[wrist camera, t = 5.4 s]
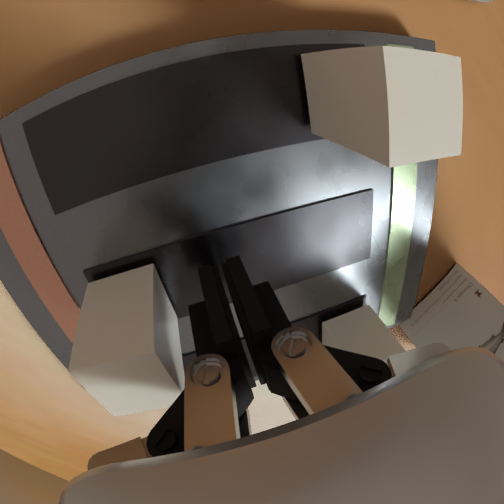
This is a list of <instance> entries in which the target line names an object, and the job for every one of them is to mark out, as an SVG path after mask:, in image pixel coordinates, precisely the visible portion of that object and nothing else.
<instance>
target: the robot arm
mask: <svg viewBox="0 0 504 504" xmlns="http://www.w3.org/2000/svg"><path fill="white" fill-rule="evenodd" d="M467 1H471V2H487V3H488V2H491V1H494V0H467ZM221 265H222V269H223V272H224V275H225V279H226V282H227V285H228V289H229V292H230V295H231V299H232V302H233V305H234V309H235V312H236V315H237V318H238V321H239V324H240V327H241V330H242V333H243V336H244V339H245V341H246V344H247V347H248V350H249V353H250V356H251V358H252V361H253V364H254V367H255V370H256V372H257V375H258V378H259V381H260V383H261V385H262V384H265V383H267V386H268V389H269V390H270V391H271V393H274V394H277V395H280V396H282V398H283V400H284V402H285V403H286V405H287V407H288V408H289V410H290V411H291V413H292V414H293V416H294V417H295V419H296V420H295V421H293V422H290V423H287V424H284V425H281V426H278V427H275V428H272V429H269V430H266V431H263V432H260V433H256V434H253V435H252V431H251V423H250V416H249V410H248V406H249V405H250V403H251V402H252V400H253V399H254V397H253V396H254V395H253V392H252V389H251V388H253V387H256V383H255V380H254V377H253V375H252V372H251V369H250V366H249V363H248V360H247V357H246V354H245V351H244V348H243V345H242V342H241V339H240V336H239V333H238V329H237V326H236V323H235V320H234V317H233V314H232V311H231V308H230V305H229V302H228V299H227V296H226V293H225V289H224V286H223V283H222V280H221V277H220V273H219V270H218V267H217V266H214V267H212V266H211V264H208V265H205V266H201V267H198V273H199V278H200V283H201V287H202V292H203V297H204V301H201V302H198V303H195V304H191V305H188V309H189V316H190V322H191V328H192V334H193V340H194V345H195V351H196V356H197V358H195V359H193V360H192V361H191V362H190V363H189V365H188V366H187V368H186V371H185V388H184V390H183V391H182V392H181V394H180V395H179V396H178V397H177V399H176V400H175V401H174V403H173V404H172V405H171V406H170V408H169V409H168V410H167V411H166V413H165V414H164V415H163V416H162V418H161V419H160V420H159V421H158V423H157V424H156V425H155V426H154V427H153V429H152V430H151V431H150V433H149V435H148V436H147V437H145V438H140V437H138V438H135V439H133V440H130V441H128V442H125V443H123V444H120V445H117V446H114V447H112V448H109V449H106V450H103V451H100V452H98V453H96V454H94V455H93V456H92V457H91V458H90V459H89V462H88V465H87V467H88V471H85V472H83V473H81V474H80V475H78V476H76V477H74V478H73V479H72V480H70V481H69V482H68V483H67V484H66V485H65V486H64V488H63V490H62V492H61V496H60V501H59V504H504V362H503V361H502V360H501V359H500V358H499V357H497V356H496V355H495V354H494V353H492V352H490V351H489V350H487V349H484V348H480V347H467V348H460V349H455V350H450V348H449V347H448V346H446V345H444V344H441V343H432V344H429V345H426V346H422V347H419V348H415V349H412V350H408V351H405V352H401V353H398V354H394V355H390V356H388V358H387V359H384V360H380V359H378V358H375V357H370V356H366V355H362V354H357V353H353V352H349V351H345V350H341V349H337V348H333V347H329V346H325V345H323V344H322V343H321V342H320V341H319V340H318V339H317V337H316V336H315V335H314V334H313V333H312V332H311V331H310V330H308V329H305V328H303V327H292V325H291V323H290V321H289V319H288V318H287V316H286V314H285V312H284V310H283V308H282V306H281V304H280V302H279V300H278V298H277V297H276V295H275V293H274V291H273V289H272V287H271V285H270V283H269V282H268V281H266V282H263V283H260V284H257V285H253V286H252V283H251V281H250V279H249V277H248V274H247V272H246V270H245V268H244V265H243V263H242V261H241V259H240V256H239V255H238V256H234V257H231V258H228V259H226V263H224V264H221Z"/></svg>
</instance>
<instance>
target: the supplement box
mask: <svg viewBox="0 0 504 504" xmlns="http://www.w3.org/2000/svg"><path fill="white" fill-rule="evenodd" d="M399 326H400V328H401V329H402V330H403V332H404V333H405V334H406V335H407V337H408V338H409V339H410V340H411V342H412V343H413V344H414V345H415V347H416V348H419V347H422V346H426V345H429V344H432V343H441V344H444V345H446V346H448V347H449V348H450V350H455V349H460V348H467V347H480V348H484V349H487V350H489V351H490V352H492V353H494V354H495V355H496V356H497V357H499V358H500V359H501V360H502V361H503V362H504V306H503V305H502V304H501V303H500V302H499V301H498V300H497V299H496V298H495V297H494V296H493V295H492V294H491V293H490V292H489V291H488V290H487V289H486V288H485V287H484V286H482V285H481V284H480V283H479V282H478V281H477V280H476V279H475V278H474V277H473V276H471V275H470V274H469V273H468V272H467V271H466V270H465V269H464V268H463V267H461V266H460V265H459V264H458V263H456V264H455V266H454V267H453V269H452V270H451V271H450V272H449V274H448V275H447V276H446V277H445V278H444V279H443V280H442V281H441V282H440V283H439V284H438V285H437V286H436V288H435V289H434V290H433V291H432V292H431V293H430V294H429V295H428V296H427V297H426V298H425V299H424V300H423V301H421V302H420V303H419V304H418V305H417V306H416V307H415V308H414V309H413V311H412V315H411V318H410V319H408V320H406V321H404V322H402V323H400V324H399Z"/></svg>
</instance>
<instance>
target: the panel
mask: <svg viewBox="0 0 504 504" xmlns="http://www.w3.org/2000/svg"><path fill="white" fill-rule="evenodd" d="M368 46H391V47H401V48H410V49H417V50H424V51H431V52H436V50H435V41H432V40H427V39H421V38H416V37H410V36H403V35H396V34H388V33H379V32H368V31H353V30H286V31H272V32H260V33H251V34H242V35H235V36H228V37H222V38H216V39H210V40H205V41H199V42H194V43H190V44H185V45H181V46H177V47H172V48H168V49H164V50H161V51H157V52H153V53H150V54H146V55H143V56H140V57H136V58H133V59H130V60H127V61H124V62H121V63H118V64H115V65H112V66H110V67H107V68H104V69H102V70H99V71H96V72H94V73H91V74H89V75H86V76H84V77H82V78H79V79H77V80H75V81H72V82H70V83H68V84H66V85H63V86H61V87H59V88H57V89H55V90H53V91H51V92H49V93H47V94H45V95H43V96H41V97H39V98H37V99H35V100H33V101H32V102H30V103H28V104H26V105H24V106H22V107H21V108H19V109H17V110H16V111H14V112H12V113H10V114H9V115H7V116H6V117H4V118H2V119H1V120H0V280H1V281H2V283H3V284H4V286H5V288H6V289H7V291H8V292H9V294H10V295H11V297H12V298H13V300H14V301H15V303H16V304H17V306H18V307H19V309H20V310H21V312H22V313H23V314H24V316H25V317H26V319H27V320H28V321H29V323H30V324H31V325H32V327H33V328H34V329H35V331H36V332H37V333H38V335H39V336H40V337H41V338H42V340H43V341H44V342H45V343H46V345H47V346H48V347H49V348H50V349H51V351H52V352H53V353H54V354H55V355H56V357H57V358H58V359H59V360H60V361H61V362H62V364H63V365H64V366H65V367H66V368H67V369H69V363H70V358H71V352H72V347H73V342H74V337H75V333H76V328H77V324H78V320H79V315H80V311H81V307H82V303H83V300H84V296H85V292H86V288H87V285H88V283H90V282H94V281H97V280H100V279H103V278H107V277H110V276H113V275H116V274H120V273H123V272H126V271H130V270H133V269H136V268H139V267H143V266H146V265H149V264H153V263H154V266H155V268H156V271H157V273H158V275H159V278H160V280H161V282H162V285H163V287H164V289H165V291H166V294H167V296H168V298H169V300H170V302H171V305H172V307H173V309H174V311H175V313H176V315H177V320H178V329H179V337H180V345H181V353H182V360H183V367H184V374H185V371H186V368H187V366H188V365H189V363H190V362H191V361H192V360H193V359H195V358H197V356H196V351H195V345H194V340H193V334H192V328H191V322H190V316H189V309H188V305H191V304H195V303H198V302H201V301H204V297H203V292H202V287H201V283H200V278H199V273H198V267H201V266H205V265H208V264H211V266H212V267H214V266H217V267H218V270H219V273H220V277H221V280H222V283H223V286H224V289H225V293H226V296H227V299H228V302H229V305H230V308H231V311H232V314H233V317H234V320H235V323H236V326H237V329H238V333H239V336H240V339H241V342H242V345H243V348H244V351H245V354H246V357H247V360H248V363H249V366H250V369H251V372H252V375H253V377H254V380H255V381H256V380H259V378H258V375H257V372H256V370H255V367H254V364H253V361H252V358H251V356H250V353H249V350H248V347H247V344H246V341H245V339H244V336H243V333H242V330H241V327H240V324H239V321H238V318H237V315H236V312H235V309H234V305H233V302H232V299H231V295H230V292H229V289H228V285H227V282H226V279H225V275H224V272H223V269H222V265H221V264H224V263H226V259H228V258H231V257H234V256H238V255H239V256H240V259H241V261H242V263H243V265H244V268H245V270H246V272H247V274H248V277H249V279H250V281H251V283H252V286H253V285H257V284H260V283H263V282H266V281H268V282H269V283H270V285H271V287H272V289H273V291H274V293H275V295H276V297H277V298H278V300H279V302H280V304H281V306H282V308H283V310H284V312H285V314H286V316H287V318H288V319H289V321H290V323H291V325H292V327H303V328H305V329H308V330H310V331H311V332H312V333H313V334H314V335H315V336H316V337H317V339H318V340H319V341H320V342H321V343H322V322H325V321H327V320H330V319H333V318H335V317H338V316H340V315H343V314H345V313H348V312H351V311H353V310H356V309H358V308H361V307H363V306H365V305H368V304H369V305H370V306H371V308H372V309H373V310H374V311H375V313H376V314H377V315H378V316H379V318H380V319H381V320H382V321H383V323H384V324H385V325H386V327H387V328H388V329H389V328H391V327H393V326H395V325H397V324H400V323H402V322H404V321H406V320H408V319H410V318H411V315H412V311H413V308H414V304H415V300H416V296H417V292H418V288H419V284H420V279H421V275H422V270H423V266H424V261H425V256H426V250H427V245H428V239H429V233H430V227H431V220H432V213H433V206H434V197H435V188H436V177H437V164H438V159H434V160H428V161H422V162H417V163H412V164H406V165H401V166H396V167H391V168H389V167H387V166H385V165H383V164H381V163H379V162H377V161H375V160H373V159H370V158H368V157H366V156H364V155H362V154H360V153H358V152H355V151H353V150H351V149H349V148H346V147H344V146H342V145H340V144H337V143H335V142H332V141H330V140H328V139H325V138H323V137H320V136H318V135H315V134H313V133H311V125H310V116H309V108H308V100H307V93H306V85H305V78H304V72H303V65H302V59H301V54H305V53H312V52H319V51H326V50H334V49H344V48H354V47H368Z"/></svg>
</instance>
